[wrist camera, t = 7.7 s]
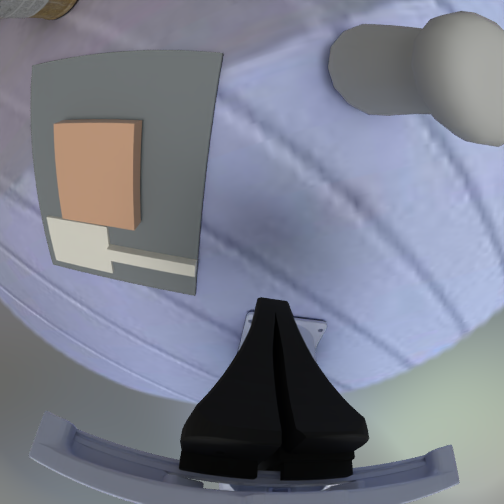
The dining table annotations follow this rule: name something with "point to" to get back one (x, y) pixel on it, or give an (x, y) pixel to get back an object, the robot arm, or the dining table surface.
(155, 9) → the dining table surface
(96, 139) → the tile
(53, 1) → the sprinkles bottle
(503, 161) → the dining table surface
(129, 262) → the turner
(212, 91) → the mat
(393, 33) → the salt shaker
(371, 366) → the dining table surface
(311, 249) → the dining table surface
